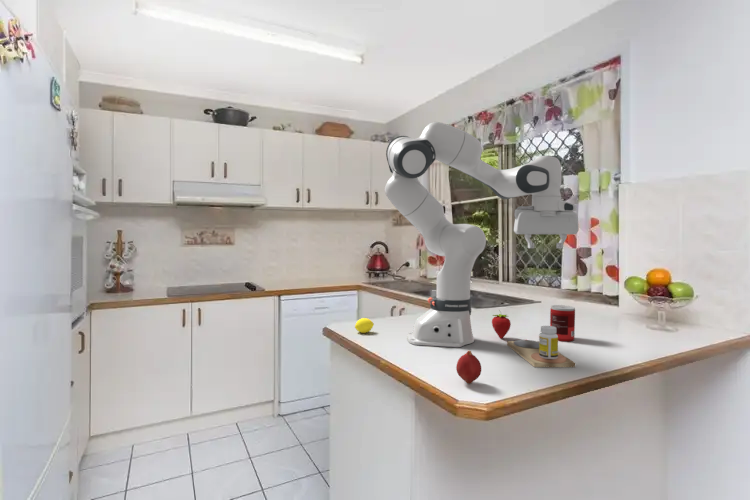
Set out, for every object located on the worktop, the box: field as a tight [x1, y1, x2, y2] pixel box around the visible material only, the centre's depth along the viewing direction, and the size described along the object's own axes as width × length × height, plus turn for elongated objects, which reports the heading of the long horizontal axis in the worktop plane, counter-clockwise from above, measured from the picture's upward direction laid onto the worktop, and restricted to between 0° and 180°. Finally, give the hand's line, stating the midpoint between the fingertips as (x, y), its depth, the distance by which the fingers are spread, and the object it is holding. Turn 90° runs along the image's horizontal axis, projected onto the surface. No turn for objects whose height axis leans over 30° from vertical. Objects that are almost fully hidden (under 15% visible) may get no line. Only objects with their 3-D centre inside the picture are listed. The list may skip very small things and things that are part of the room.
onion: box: [455, 350, 482, 385], centre depth 96 cm, size 6×6×8 cm
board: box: [506, 339, 576, 368], centre depth 119 cm, size 11×23×2 cm, turn 0°
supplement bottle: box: [538, 325, 559, 359], centre depth 112 cm, size 5×5×8 cm
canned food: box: [549, 304, 576, 343], centre depth 138 cm, size 8×8×11 cm
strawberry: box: [491, 309, 512, 339], centre depth 138 cm, size 6×8×10 cm
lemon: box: [354, 317, 375, 334], centre depth 146 cm, size 7×5×5 cm
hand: (545, 248), depth 133 cm, fingers open, 8 cm apart
